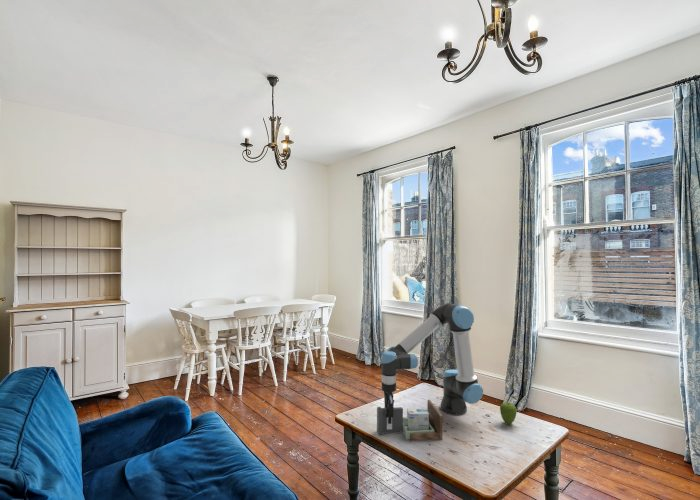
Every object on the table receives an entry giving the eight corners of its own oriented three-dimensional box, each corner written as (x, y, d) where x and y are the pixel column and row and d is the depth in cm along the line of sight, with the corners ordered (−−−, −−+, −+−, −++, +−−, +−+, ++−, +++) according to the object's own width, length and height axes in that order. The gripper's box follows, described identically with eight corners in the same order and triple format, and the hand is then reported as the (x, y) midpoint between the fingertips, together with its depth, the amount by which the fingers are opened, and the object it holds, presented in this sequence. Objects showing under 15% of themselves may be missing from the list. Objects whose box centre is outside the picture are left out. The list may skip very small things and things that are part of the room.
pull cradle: (424, 422, 198) (424, 400, 198) (434, 437, 182) (434, 413, 182) (375, 425, 195) (375, 402, 195) (380, 440, 179) (380, 416, 179)
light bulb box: (426, 428, 192) (427, 408, 192) (429, 434, 185) (429, 413, 185) (406, 427, 192) (406, 407, 193) (408, 434, 186) (408, 413, 186)
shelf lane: (429, 421, 200) (429, 399, 200) (442, 439, 181) (442, 415, 181) (401, 422, 198) (401, 400, 198) (411, 441, 179) (411, 417, 179)
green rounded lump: (517, 428, 192) (517, 406, 192) (500, 425, 195) (500, 404, 196) (516, 421, 200) (516, 400, 200) (499, 418, 204) (499, 398, 204)
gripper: (378, 377, 195) (378, 421, 195) (384, 388, 180) (384, 435, 180) (392, 377, 196) (392, 420, 195) (399, 387, 181) (399, 434, 180)
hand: (388, 427), depth 188 cm, fingers closed on pull cradle, 2 cm apart
